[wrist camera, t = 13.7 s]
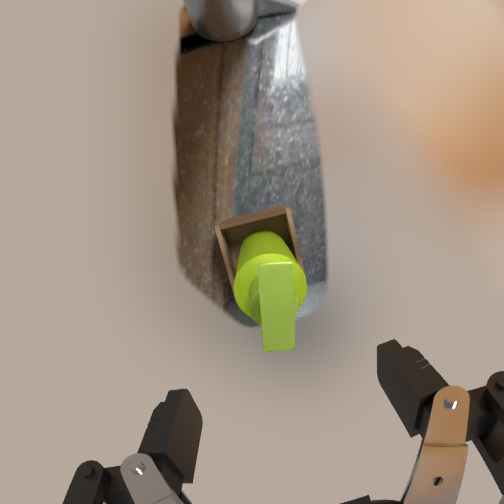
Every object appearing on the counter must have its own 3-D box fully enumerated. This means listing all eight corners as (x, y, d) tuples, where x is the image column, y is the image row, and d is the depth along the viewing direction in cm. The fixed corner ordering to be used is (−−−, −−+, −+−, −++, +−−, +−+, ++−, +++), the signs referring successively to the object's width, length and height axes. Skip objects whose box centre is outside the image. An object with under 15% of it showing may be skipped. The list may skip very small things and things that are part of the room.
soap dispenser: (285, 219, 34) (330, 260, 14) (287, 273, 35) (326, 367, 16) (237, 222, 34) (218, 269, 14) (242, 276, 35) (232, 375, 16)
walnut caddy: (219, 221, 34) (214, 226, 30) (284, 205, 34) (289, 207, 29) (238, 290, 36) (236, 304, 32) (300, 274, 36) (307, 287, 31)
